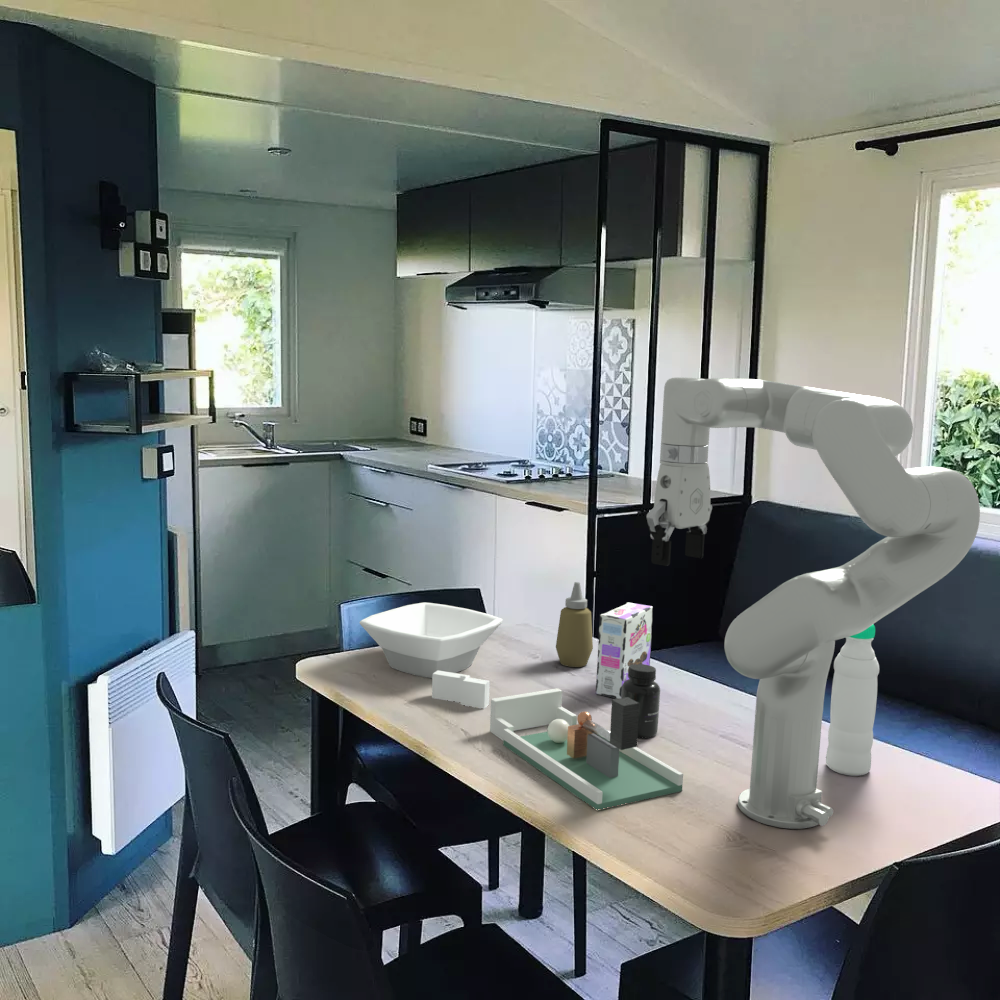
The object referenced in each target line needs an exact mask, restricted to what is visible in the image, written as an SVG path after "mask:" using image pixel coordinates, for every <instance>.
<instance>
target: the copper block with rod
mask: <svg viewBox="0 0 1000 1000" xmlns="http://www.w3.org/2000/svg"><path fill="white" fill-rule="evenodd" d="M638 720H639V703H638V702H636V701H634V700H632V699H630V698H628V697H625V698H620V699H616V698H613V699H611V711H610V729H609V730H608V729H607V728H605V727H603V726H601V725H600V724H598V723H597V722H595V721H593V717H592V715H591V713H590V712H589V711H583V710H582V711H581V712H579V713H578V714H577V725H572V726H568V738H567V755H569V756H570V757H572V758H573V759H574V758H579V757H584V756H587V737H588V735H589V734H595V735H597V736H599V737H600V738H602V739H604V740H605V741H607V742H609V743H610V744H612V745H614V746H615V747H617V748H619V749H620V750H624V749H629V748H634V747H637V748H638V739H639V738H638ZM578 723H579V724H578Z"/></svg>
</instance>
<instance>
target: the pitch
mask: <svg viewBox="0 0 1000 1000" xmlns="http://www.w3.org/2000/svg"><path fill="white" fill-rule="evenodd" d="M562 705H563V690H561V689H560V688H557V687H556V688H550V689H545V690H539V691H538V690H537V691H533V692H526V693H520V694H514V695H513V694H512V695H507V696H501V697H494V698H491V699H490V713H489V715H490V717H489V718H490V719H489V720H490V721H489V722H490V723H489V724H490V725H489V732H490V733H492V734H493V735H494V736H496V737H497V738H499V739H500V740H501V741H503V743H502V744H503V745H502V746H504V747H505V748H507V749H508V750H509V751H511V752H513V753H514V754H515V755H517V756H518V757H520V758H521V759H522V760H524V761H525V762H527V763H529V764H530V765H531V766H533V768H535V769H536V770H538V771H540V772H541V773H542V774H544V775H545V776H547V777H548V778H550V779H551V780H552V781H554V782H555V783H557V784H559V785H560V786H561V787H562V788H564V789H566V790H567V791H569V792H570V793H571V794H572V795H574V796H575V795H576V796H575V797H577V798H578V797H579V798H578V799H580V800H581V799H582V800H581V801H583V802H584V801H585V802H586V803H585V802H584V803H585V804H587V803H588V804H589V805H588V804H587V805H588V806H590V805H591V806H592V807H591V806H590V807H591V808H593V807H594V808H595V809H597V810H598V809H602V810H604V809H603V808H607V807H611V808H613V807H612V806H615V807H618V806H617V805H620V806H622V805H621V804H624V805H626V804H625V803H628V804H632V803H631V802H633V803H636V802H635V801H637V802H641V801H644V799H645V800H649V798H650V799H654V798H658V797H662V796H663V797H664V796H666V795H671V794H675V793H680V792H682V791H683V785H684V784H683V781H684V773H683V772H681V771H679V770H678V769H676V768H674V767H672V766H670V765H668V764H667V763H665V762H663V761H662V760H660V759H658V758H656V757H654V756H652V755H651V754H649V753H648V752H646V751H644V750H642V749H640V748H639V747H638V746H637V747H634V748H629V749H624V750H620V749H619V748H617V747H615V746H614V745H612V744H610V743H609V742H607V741H605V740H604V739H602V738H600V737H599V736H597V735H595V734H589V735H588V737H587V756H584V757H579V758H574V759H573V758H572V757H570V756H569V755H567V740H566V741H565V742H563V743H556V742H554V741H552V740H551V739H550V738H549V736H548V732H547V731H542V732H538V733H532V734H527V735H526V734H525V735H521V736H519V735H518V734H517V733H515V732H516V731H520V730H525V729H531V728H537V727H542V726H547V725H548V726H549V724H550V723H551V722H552V721H553V720H555V719H563V720H565V721H566V722H567V723H568V724H569V725H570V726H572V725H577V724H579V723H578V721H577V716H578V714H575V713H574V712H572V711H570V710H568V709H567V708H565V707H563V706H562ZM514 731H515V732H514ZM657 796H658V797H657ZM640 800H641V801H640ZM594 808H593V809H594ZM595 809H594V810H595ZM607 809H608V808H607ZM597 810H596V811H597ZM598 811H599V810H598Z"/></svg>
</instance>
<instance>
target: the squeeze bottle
mask: <svg viewBox="0 0 1000 1000" xmlns="http://www.w3.org/2000/svg"><path fill="white" fill-rule="evenodd" d="M564 604H565V607H563V608H562V609H561V610H560V615H559V622H558V630H557V635H556V642H555V650H556V653H557V655H558V661H559V663H560V664H561V665H563V666H565V667H572V668H580V667H585V666H588V665H587V664H588V662H589V660H590V657H591V654H592V651H593V649H594V642H593V626H592V624H593V623H592V622H593V621H592V611H591V610H590V609H589V608H588V599H587V598H584V597H583V593H582V586H581V583H580V582H578V581H575V582H574V583H573V587H572V591H571V595H570V597H566V598H565V603H564Z"/></svg>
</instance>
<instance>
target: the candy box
mask: <svg viewBox="0 0 1000 1000" xmlns="http://www.w3.org/2000/svg"><path fill="white" fill-rule="evenodd" d="M653 608H654V607H653V606H652V605H646V604H642V603H633V602H626V603H625V604H623V605H620V606H619V607H616V608H614V609H613V608H612V609H611V610H609V611H606V612H604V613H601V614H599V627H598V644H597V645H598V646H597V660H596V661H597V662H596V663H597V664H596V681H595V682H596V683H595V694H596V695H599V696H604V697H608V698H613V699H620V698H621V693H622V685H623V683H624V682H625V681H626V680H628V679H629V678H628V672H629V666H630V665H634V664H644V665H650V666H651V650H652V649H651V648H652V628H653V627H652V626H653V611H654V610H653Z"/></svg>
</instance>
